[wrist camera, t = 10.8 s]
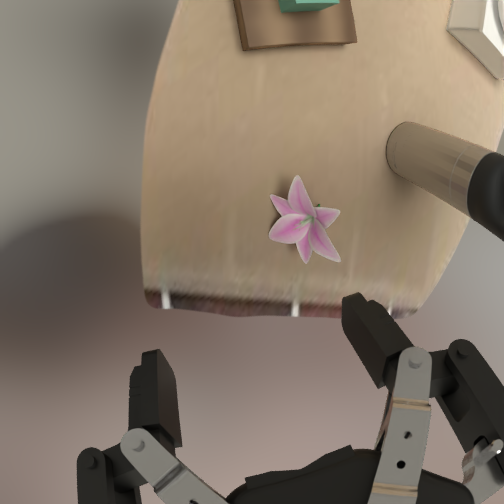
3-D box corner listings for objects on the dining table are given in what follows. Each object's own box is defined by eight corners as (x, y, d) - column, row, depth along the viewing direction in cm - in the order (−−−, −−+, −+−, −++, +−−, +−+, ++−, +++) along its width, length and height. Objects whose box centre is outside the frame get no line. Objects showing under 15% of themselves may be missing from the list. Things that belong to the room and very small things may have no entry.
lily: (290, 151, 41) (276, 180, 34) (364, 190, 41) (367, 227, 34) (260, 214, 49) (242, 252, 42) (325, 246, 49) (318, 288, 42)
